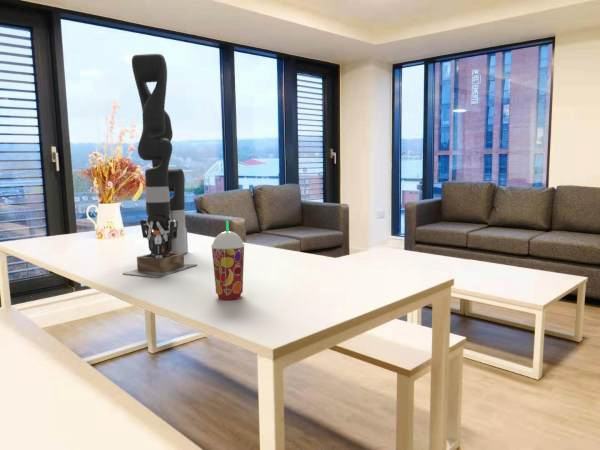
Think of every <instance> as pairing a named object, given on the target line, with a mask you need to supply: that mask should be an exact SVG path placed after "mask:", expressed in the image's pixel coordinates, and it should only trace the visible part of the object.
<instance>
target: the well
mask: <svg viewBox="0 0 600 450" xmlns="http://www.w3.org/2000/svg"><path fill="white" fill-rule="evenodd" d="M184 255H185V254H183V253H170V256H169V257H165V258H151V253H148V254H144V255H138V256H136V265H137V266H136V267H137V269H136V268H135V269H133V270H129V271H125V272H122V275H126V276H133V277H134V276H135V277H143V278H144V277H145V278H151V279H152V278H155V279H157V278H162V277H165V276H168V275H172V274H174V273H178V272H181V271H186V270H188V269H190V268H194V267H197V266H198V264H196V263H194V264H193V263H185V259H184V257H185V256H184Z"/></svg>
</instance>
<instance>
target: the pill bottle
mask: <svg viewBox="0 0 600 450" xmlns="http://www.w3.org/2000/svg"><path fill="white" fill-rule="evenodd" d="M153 235H154V236H153V237H151V239H150V242H151V251H150V254H151V258H165V257H169V256H170V252H165V239H164V237H163V235H162V234H161V232H160V231H158V230H153Z"/></svg>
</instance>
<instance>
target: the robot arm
mask: <svg viewBox="0 0 600 450" xmlns="http://www.w3.org/2000/svg"><path fill="white" fill-rule="evenodd" d="M131 65H132V66H131V67H132V72H133V77H134V81H135V85H136V88H137V92H138V96H139V101H140V105H141V111H142V131H141V135H140V139H139V142H138V146H137V154H138V156H139V158H140V159H141V160H143V161H151V165H152V166H151V167H150V168H149V167H148V168H147V169H145V173H144V177H145V179H144V180H145V210H146V211H145V213H146V216H148V217H147V218H146V219H141V220H140V228H141V234H142V238H143V239H147V242H148V250H149V252H151V242H150V239H151V237H153V236H154V235H153V230H158V231H160V232H161V234H162V235H163V237H164V239H165V252H170V253H183V254H184V255H185V254H187V253H188V252H189V247H188V241H189V240H188V228H187V227H186V211H185V210H186V209H185V203H186V201H185V200H186V199H185V198H186V197H185V189H186V188H185V182H186V179H185V173H184V171H183V169H182V168H180V167H179V168H178V167H169V166H170V161H171V157H172V153H173V144H172V143H171V141H172V139H173V135H174V133H173V127H172V121H171V117H170V115H169V114H168V112H167V111H166V110H165V105H166V97H167V96H166V94H167V93H166V92H167V82H168V67H167V62H166V59H165V56H164V55H163V54H161V53H142V54H135V55H133V56H132V58H131ZM147 83H155V87H154V89H153V90H152V92H151V91H150V88H149V87H148V84H147ZM170 193H173V196H172V197H171V198H170Z"/></svg>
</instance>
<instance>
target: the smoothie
mask: <svg viewBox="0 0 600 450" xmlns="http://www.w3.org/2000/svg"><path fill="white" fill-rule="evenodd" d="M229 224H230V223H229V220H225V228H226V229H225V231H222V232H220V233H219V234H218V235H217V236H215V238H214V240H213V243H212V244H211V246H210V247H211V253H212V264H213V272H214V273H213V274H214V275H213V276H214V284H215V293H216V294H217V297H218V298H219V300H223V301H233V300H237V299H240V298H241V297H242V293H243V290H244V262H245V246H246V245H245V243H244V242H243V240H242V238H241V237H240V235H239V234H238V233H236V232H234V231H231V230H230V228H229V227H230V226H229Z"/></svg>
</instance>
